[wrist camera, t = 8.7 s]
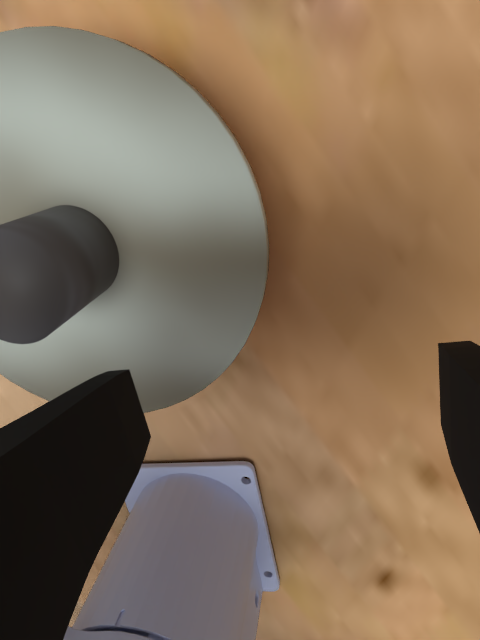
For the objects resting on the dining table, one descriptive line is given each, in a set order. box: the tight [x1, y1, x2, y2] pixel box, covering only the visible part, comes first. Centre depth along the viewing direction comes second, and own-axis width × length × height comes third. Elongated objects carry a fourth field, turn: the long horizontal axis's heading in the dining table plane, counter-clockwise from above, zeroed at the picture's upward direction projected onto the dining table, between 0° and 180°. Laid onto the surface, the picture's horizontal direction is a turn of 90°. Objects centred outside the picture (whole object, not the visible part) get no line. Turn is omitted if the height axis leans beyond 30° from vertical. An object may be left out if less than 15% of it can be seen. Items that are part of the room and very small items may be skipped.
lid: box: [0, 26, 269, 413], centre depth 14 cm, size 13×13×4 cm
